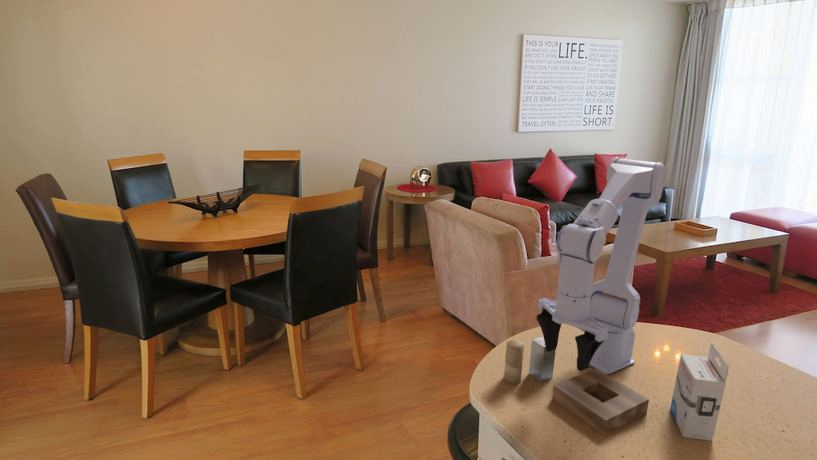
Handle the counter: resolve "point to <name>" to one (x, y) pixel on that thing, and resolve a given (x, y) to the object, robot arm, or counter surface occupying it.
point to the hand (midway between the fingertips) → (566, 358)
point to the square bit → (541, 360)
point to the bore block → (599, 415)
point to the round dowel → (513, 361)
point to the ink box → (699, 394)
